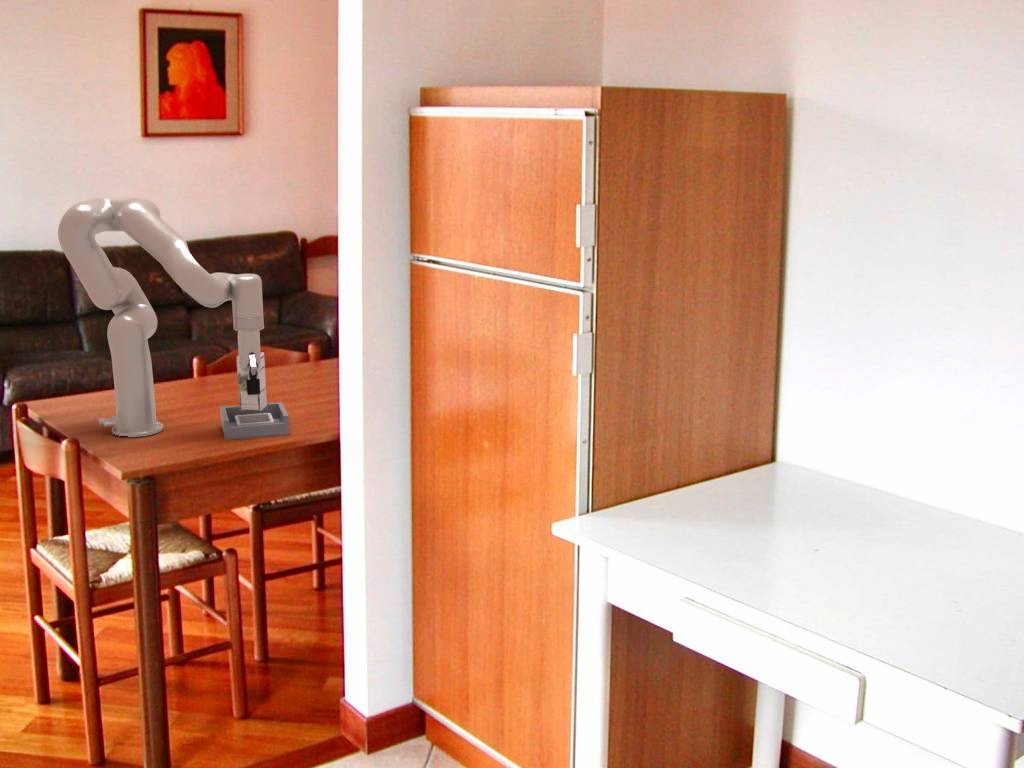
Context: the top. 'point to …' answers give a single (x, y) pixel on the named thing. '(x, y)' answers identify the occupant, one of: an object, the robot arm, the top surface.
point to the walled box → (254, 422)
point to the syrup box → (246, 400)
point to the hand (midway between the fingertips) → (252, 390)
